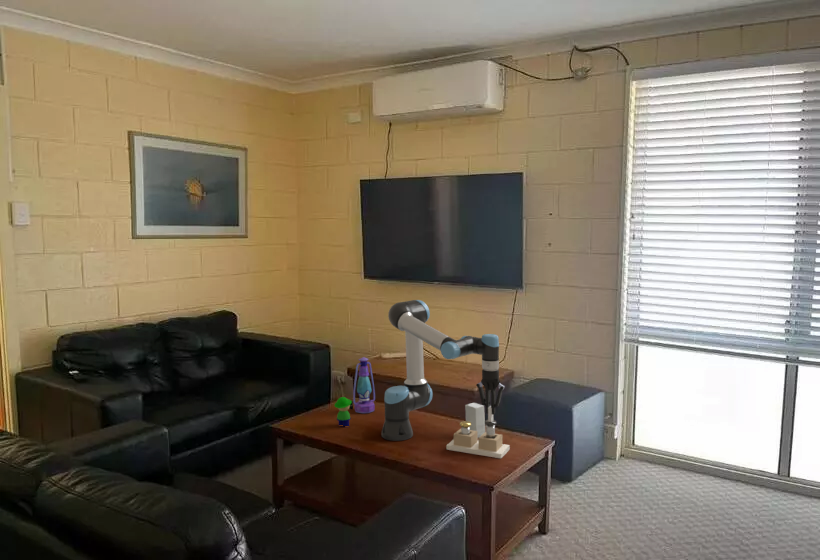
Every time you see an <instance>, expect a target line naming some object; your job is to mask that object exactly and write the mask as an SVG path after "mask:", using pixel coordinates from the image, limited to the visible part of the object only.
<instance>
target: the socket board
mask: <svg viewBox="0 0 820 560" xmlns="http://www.w3.org/2000/svg"><path fill="white" fill-rule="evenodd" d="M445 445H446V446H445V447H446V450H449V451H454V452H458V453H459V452H461V453H466V454H471V455H479V456H485V457H490V458H491V457H492V458H495V459H502V458H503V457H505V455H506V454H507V453H508V452H509V451H510V450H511V449H510V448H511V447H510V446H511V445H510V444H505V443H504V444H503V434H502V433H501V434H498V433H495V438H494V439H491V438H486V431H485V433H483V434H482V435H481V436H480V437H478V438H477V431H473V430H470V434H469V435H465V434H461V428H459V429H458V430H457V431H456V432H454V433H453V439H452V440H451V441H450V442H449V443H447V444H445Z"/></svg>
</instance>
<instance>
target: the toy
mask: <svg viewBox="0 0 820 560" xmlns="http://www.w3.org/2000/svg"><path fill="white" fill-rule="evenodd" d="M333 405H334V407H335V408H336V409H338V412H337V416H336V420H337V422H338V426H339V425H343V426H349V427H350V420H351V414H350V412H349V411H348V410H354V403H353V400H351V399H349V398H347V397H345V396H342V397H341V396H340V397H339V398H338V399H337V401H336V402H335V403H334V404H333ZM343 426H342V427H343Z"/></svg>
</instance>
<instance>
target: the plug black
mask: <svg viewBox="0 0 820 560" xmlns="http://www.w3.org/2000/svg"><path fill="white" fill-rule="evenodd" d="M496 425H497V420H495V419H493V421H492V422H488V419H486V420H485V432H486V438H491V439H494V438H495V434H496V429H495V428H496Z"/></svg>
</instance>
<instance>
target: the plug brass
mask: <svg viewBox="0 0 820 560" xmlns="http://www.w3.org/2000/svg"><path fill="white" fill-rule="evenodd" d="M470 426H471V422H469V421H466V420H465V421H464V420H463V421H460V422H459V427H461V428H460V429H461V434H465V435H469V434H470Z"/></svg>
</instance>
